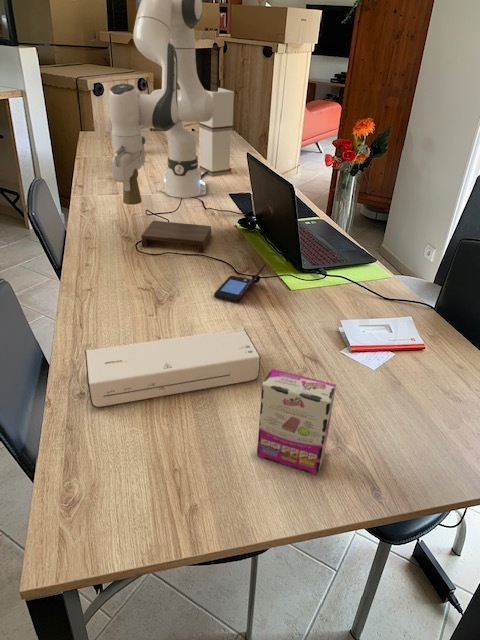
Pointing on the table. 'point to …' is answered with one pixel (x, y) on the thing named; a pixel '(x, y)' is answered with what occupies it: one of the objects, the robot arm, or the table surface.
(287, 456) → the candy bar box
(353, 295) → the table surface
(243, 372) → the laminator
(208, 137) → the white square pillar
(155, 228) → the desk riser
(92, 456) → the table surface
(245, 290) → the handheld console
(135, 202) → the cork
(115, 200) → the table surface
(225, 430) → the table surface
